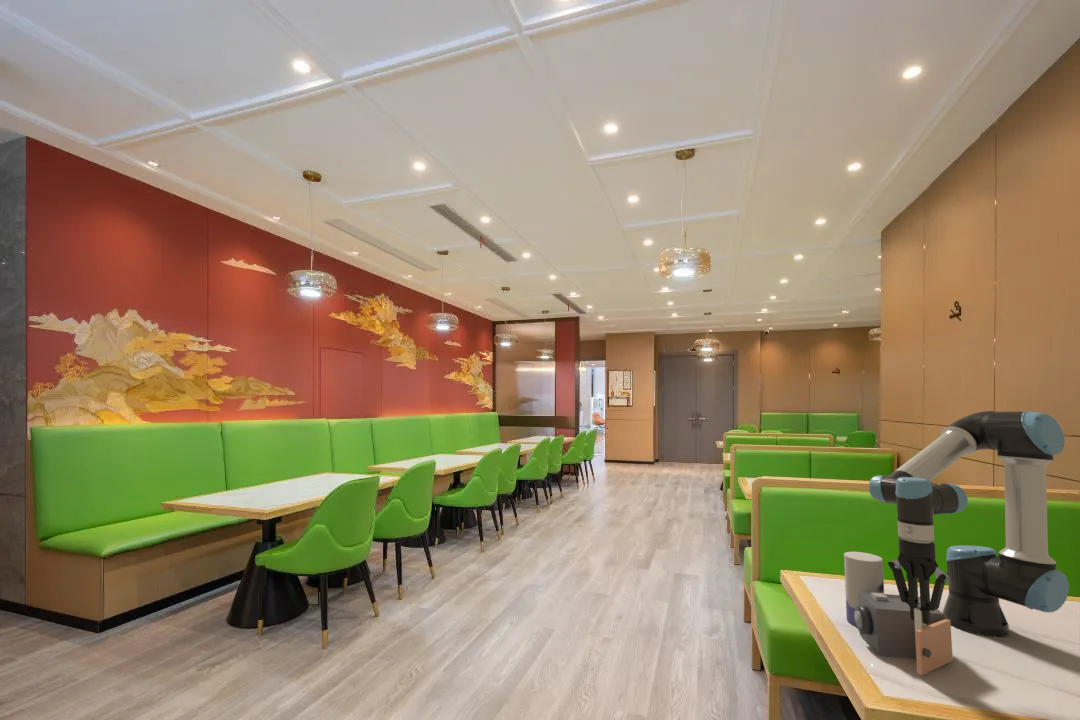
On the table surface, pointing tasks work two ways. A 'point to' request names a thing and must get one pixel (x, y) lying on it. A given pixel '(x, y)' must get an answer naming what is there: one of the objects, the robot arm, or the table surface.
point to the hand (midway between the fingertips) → (921, 635)
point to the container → (861, 578)
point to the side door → (933, 646)
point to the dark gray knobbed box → (889, 624)
